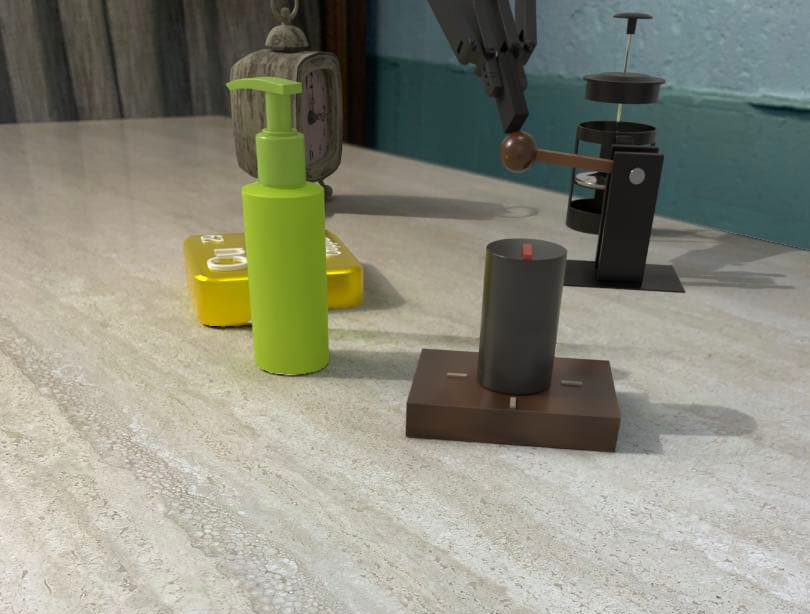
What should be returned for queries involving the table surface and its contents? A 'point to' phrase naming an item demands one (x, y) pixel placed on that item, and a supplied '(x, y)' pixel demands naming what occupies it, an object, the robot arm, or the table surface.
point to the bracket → (627, 228)
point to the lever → (543, 156)
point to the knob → (520, 314)
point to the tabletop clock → (292, 100)
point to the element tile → (229, 286)
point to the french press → (610, 130)
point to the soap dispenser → (285, 242)
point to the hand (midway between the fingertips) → (516, 123)
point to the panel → (513, 405)
